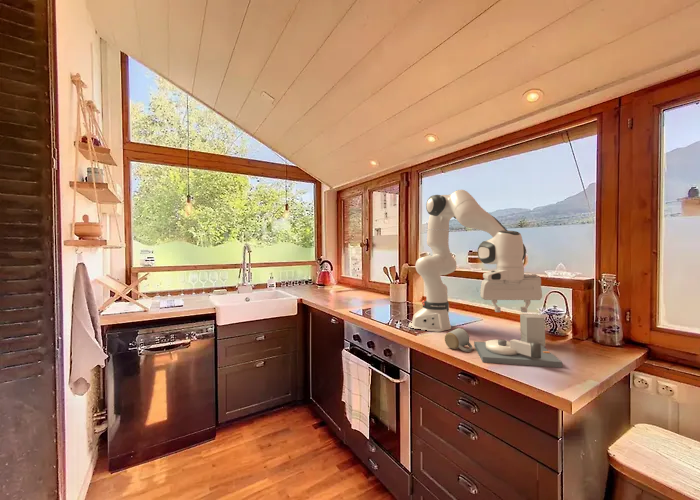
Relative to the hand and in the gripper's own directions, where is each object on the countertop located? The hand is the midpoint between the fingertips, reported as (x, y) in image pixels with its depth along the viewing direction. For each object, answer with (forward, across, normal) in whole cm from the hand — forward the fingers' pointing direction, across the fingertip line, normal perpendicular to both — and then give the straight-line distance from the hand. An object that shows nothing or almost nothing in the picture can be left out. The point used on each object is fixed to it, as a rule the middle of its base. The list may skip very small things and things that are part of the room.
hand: (510, 312), depth 106 cm
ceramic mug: (+20, +15, -16) cm, 29 cm away
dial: (+17, -2, -6) cm, 18 cm away
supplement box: (+20, -17, -24) cm, 35 cm away
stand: (+19, -4, -9) cm, 21 cm away
